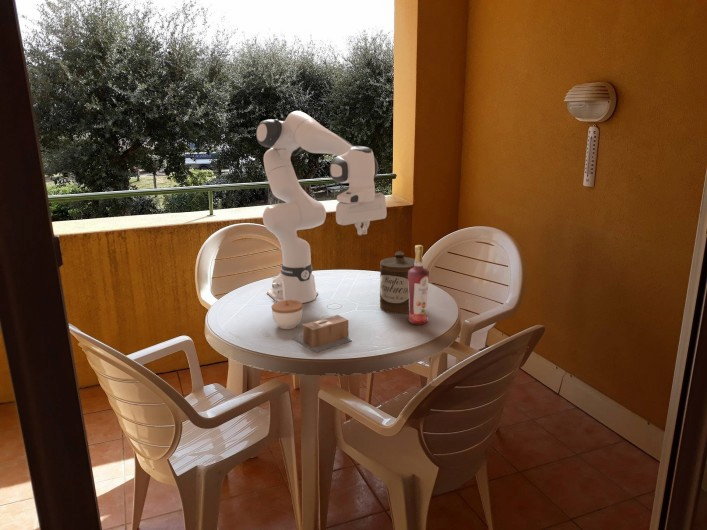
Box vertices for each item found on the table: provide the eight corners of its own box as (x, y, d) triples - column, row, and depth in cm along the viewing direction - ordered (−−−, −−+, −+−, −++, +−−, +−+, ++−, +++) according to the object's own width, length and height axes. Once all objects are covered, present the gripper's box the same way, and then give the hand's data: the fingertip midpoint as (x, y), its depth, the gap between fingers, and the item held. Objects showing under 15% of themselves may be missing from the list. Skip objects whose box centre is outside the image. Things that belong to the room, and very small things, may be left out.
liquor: (416, 328, 193) (418, 249, 185) (402, 322, 198) (403, 245, 191) (432, 323, 197) (434, 246, 189) (418, 317, 203) (419, 242, 195)
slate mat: (292, 338, 185) (292, 338, 185) (326, 328, 193) (326, 327, 193) (316, 352, 174) (316, 351, 174) (351, 341, 183) (351, 340, 183)
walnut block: (338, 331, 190) (303, 341, 182) (337, 314, 188) (302, 323, 180) (348, 336, 185) (313, 347, 177) (348, 319, 184) (312, 329, 176)
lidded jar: (288, 318, 204) (287, 293, 201) (309, 324, 197) (308, 299, 194) (266, 326, 196) (264, 301, 193) (287, 334, 189) (286, 308, 186)
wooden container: (373, 310, 210) (373, 254, 204) (388, 299, 223) (388, 245, 217) (411, 316, 204) (412, 258, 198) (423, 303, 217) (425, 249, 211)
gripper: (378, 191, 199) (378, 229, 203) (332, 196, 187) (333, 237, 191) (390, 192, 194) (390, 231, 198) (344, 199, 182) (344, 240, 186)
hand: (362, 234), depth 194 cm, fingers closed
